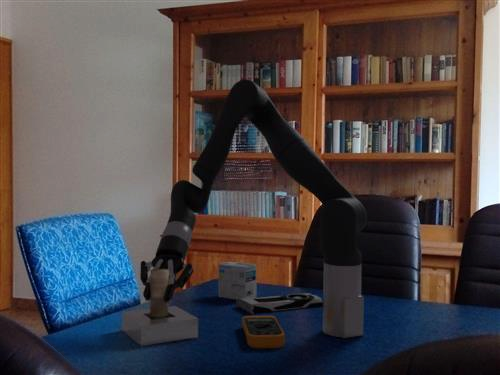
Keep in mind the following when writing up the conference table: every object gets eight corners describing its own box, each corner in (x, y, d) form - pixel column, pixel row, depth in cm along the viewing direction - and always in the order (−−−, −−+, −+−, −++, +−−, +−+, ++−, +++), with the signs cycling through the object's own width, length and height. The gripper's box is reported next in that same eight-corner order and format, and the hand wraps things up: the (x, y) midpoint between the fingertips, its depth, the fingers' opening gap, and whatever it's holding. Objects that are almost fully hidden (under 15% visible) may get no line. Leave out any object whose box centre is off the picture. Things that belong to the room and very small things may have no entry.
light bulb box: (257, 297, 174) (257, 263, 173) (245, 301, 168) (246, 266, 168) (229, 293, 179) (229, 260, 179) (217, 297, 174) (217, 263, 173)
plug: (171, 320, 132) (171, 270, 132) (153, 322, 130) (154, 272, 130) (164, 316, 136) (164, 268, 136) (147, 318, 134) (147, 269, 133)
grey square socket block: (197, 337, 130) (198, 318, 130) (141, 345, 123) (141, 325, 123) (175, 323, 143) (175, 305, 142) (122, 330, 135) (122, 312, 135)
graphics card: (235, 298, 160) (308, 290, 171) (235, 309, 161) (308, 301, 172) (250, 305, 151) (326, 297, 162) (250, 317, 152) (326, 308, 163)
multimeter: (248, 350, 122) (248, 335, 122) (241, 328, 140) (241, 314, 140) (286, 350, 123) (286, 334, 123) (274, 327, 141) (274, 314, 141)
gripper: (145, 232, 141) (123, 289, 130) (198, 235, 138) (181, 292, 127) (152, 250, 147) (133, 306, 135) (204, 253, 143) (188, 310, 132)
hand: (156, 299), depth 131 cm, fingers closed on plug, 4 cm apart
